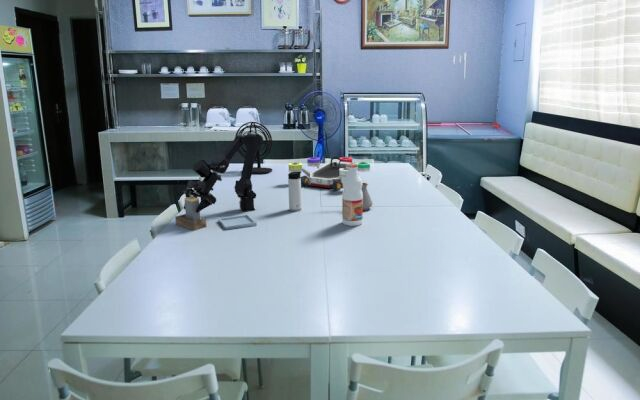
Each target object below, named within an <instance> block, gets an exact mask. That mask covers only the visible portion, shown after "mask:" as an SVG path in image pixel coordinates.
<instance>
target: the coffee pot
mask: <svg viewBox="0 0 640 400" xmlns="http://www.w3.org/2000/svg"><path fill="white" fill-rule="evenodd" d="M332 181H335V182H337V183H339V184H340V185H343V183H342V182H339V181H337V180H334V179H332ZM332 181H331V183H332ZM368 185H369V183H366V182H362V188H361V190H362V193H363V211H368V210H369V209H371V207H372V206H373V204H374V203H373V200H372V199H371V198H372V197H371V195H370V194H369V191H368V188H367V186H368Z"/></svg>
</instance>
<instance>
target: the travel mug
mask: <svg viewBox="0 0 640 400" xmlns="http://www.w3.org/2000/svg"><path fill="white" fill-rule="evenodd" d="M301 174H302V172H301V171H296V172H289V173H287V177H288V179H287V180H288V182H287V184H288V207H289V211H290V212H300V211H302V186H301V177H302V176H301Z"/></svg>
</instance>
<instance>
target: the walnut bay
mask: <svg viewBox="0 0 640 400" xmlns="http://www.w3.org/2000/svg"><path fill="white" fill-rule="evenodd" d="M174 219H175V225H176V226H178V225H179V227H181V226H182V228H185V229H188V230H191V231H197V230H200V228H201V229H204V228H207V219H206V218H205V217H204V218H200V220H196V221H191V220H188V219H186V213H184V214H180V215H175V218H174Z"/></svg>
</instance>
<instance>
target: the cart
mask: <svg viewBox="0 0 640 400" xmlns="http://www.w3.org/2000/svg"><path fill="white" fill-rule="evenodd" d="M336 160H339V161H336ZM306 162H307V165H306V166H307V167H313V168H315V167H316V168H317V169H315V170H313V171H312V172H310V171H308V170H306V169H305V168H304V167H303V163H302V162H291V163H290V162H289V163H288V172H289V173H291V172H296V171H301V173H304V174H305V175H303V176H300V177H301V187H308V184H309V186H312V187H320V188H327V189H330V188H331V189H333V191H338V190H341V189H342V187H343V185H340V184H339V183H337V182H335V181H332V179H334V180H337V181H339V182H342V183H343V180H344V178H345V177H346V175H347V171H348V168H347V164H349V163H353V157H351V156H350V157H349V156H342V157H338V156H333V157H330V161H329V162H328V163H326V164H324V165H322V166H321V158H320V157H317V156H316V157H315V156H311V157H307V159H306ZM356 164H358V168H357V172H358V173H359V172H360V173H361V172H362V173H367V172H371V162H367V161H359V162H356ZM331 181H332V183H331Z"/></svg>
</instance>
